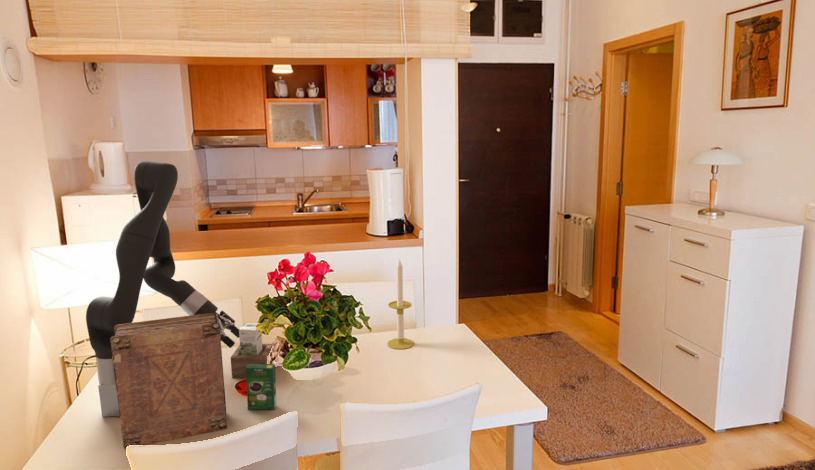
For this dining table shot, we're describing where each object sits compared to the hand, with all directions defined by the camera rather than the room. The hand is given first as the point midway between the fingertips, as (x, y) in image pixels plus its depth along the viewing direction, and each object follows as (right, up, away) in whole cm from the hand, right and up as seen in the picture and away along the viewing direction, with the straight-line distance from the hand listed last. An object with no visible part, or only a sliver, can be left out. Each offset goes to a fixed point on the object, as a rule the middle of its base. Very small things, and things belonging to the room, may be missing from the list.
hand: (237, 340), depth 180 cm
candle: (+53, -6, +23) cm, 58 cm away
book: (-6, -18, -33) cm, 38 cm away
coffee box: (+14, -15, -22) cm, 30 cm away
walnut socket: (+5, -10, +3) cm, 12 cm away
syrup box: (+5, -9, +3) cm, 11 cm away
